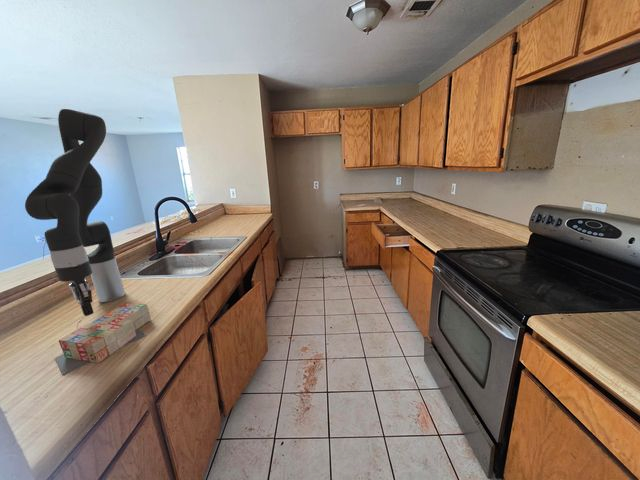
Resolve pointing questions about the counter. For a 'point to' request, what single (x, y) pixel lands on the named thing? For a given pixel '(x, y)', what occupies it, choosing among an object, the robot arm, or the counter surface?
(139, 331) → the mat
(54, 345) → the counter surface
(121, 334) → the stack of blocks
